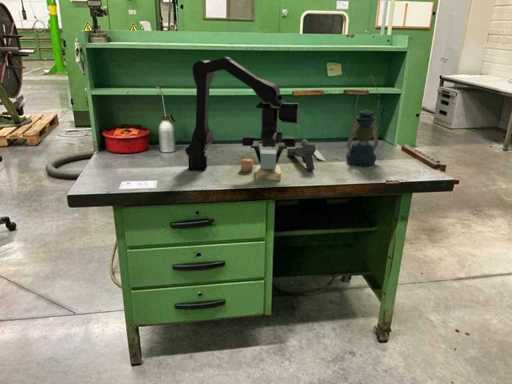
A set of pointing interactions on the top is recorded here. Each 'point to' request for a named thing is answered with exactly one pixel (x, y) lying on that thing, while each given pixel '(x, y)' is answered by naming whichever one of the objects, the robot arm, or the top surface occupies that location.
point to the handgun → (304, 155)
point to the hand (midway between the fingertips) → (268, 163)
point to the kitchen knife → (317, 154)
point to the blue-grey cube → (268, 159)
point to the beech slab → (268, 173)
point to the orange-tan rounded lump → (246, 165)
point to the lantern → (363, 139)
